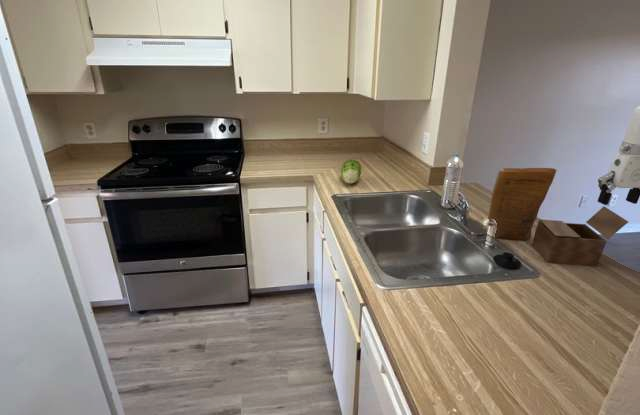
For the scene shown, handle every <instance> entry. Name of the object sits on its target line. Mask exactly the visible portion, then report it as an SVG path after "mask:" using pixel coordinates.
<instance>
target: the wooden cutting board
mask: <svg viewBox="0 0 640 415" xmlns="http://www.w3.org/2000/svg"><path fill="white" fill-rule="evenodd" d="M556 174H557V169H556V168H554V167H524V168H523V167H522V168H519V167H515V168H513V167H503V168H502V170H498V173H497V176H496V178H495V182H494V186H493V189H492V192H491V198H490V202H489V203H490V204H489V211H488V217H487V220H488V219H494V220H495V221H496V223H497V230H496V233H495V237H496V238H495V239H504V240H516V241H524V242H526V241H529V240H531V239H532V230H533V226H534V224H535V221H536V220H537V217H538V214H539V211H540V209H541V206H542V204H543V202H544V201H545V199H546V197H547V194H548V192H549V190H550V187H551V186H552V184H553V182H554V179H555V176H556ZM486 231H487V228H486V230H485V231H484V234H485V233H486Z"/></svg>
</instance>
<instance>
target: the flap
mask: <svg viewBox="0 0 640 415" xmlns="http://www.w3.org/2000/svg"><path fill="white" fill-rule="evenodd" d="M628 223H629V221H628V220H627V219H625V218H624V217H622V216H620V215H619V214H617V213H616V212H614V211H613V210H611V209H609V208H608V207H606V206H605V205H603V206H602V207H601V208H599V210H598V211H596V213H595V214H593V215H592V216H591V217H590V218H589V219H588V220H586V221H585V224H586V225H588V226H590V228H593V230H594V231H595V232H596V231H597V233H598V234H599V235H601V236H602V237H603V238H606V240H609V239H610V238H612V237H613V236H614V235H615V234H617V232H619V231H620V230H622V228H624V227H625V226H626V225H627V224H628Z"/></svg>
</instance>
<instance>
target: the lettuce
mask: <svg viewBox="0 0 640 415" xmlns="http://www.w3.org/2000/svg"><path fill="white" fill-rule="evenodd" d="M362 169H363V168H362V165H361V163H360V162H359V161H358V160H356V159H354V158H353V159H352V158H351V159H347V160H345V161H344V162H343V163H342V165H341V168H340V175H341V178H342V180H343V181H344V182H345V183H346V184H350V185H351V184H355V183H356V182H358V180H359V179H360V177H361V176H362Z"/></svg>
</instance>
